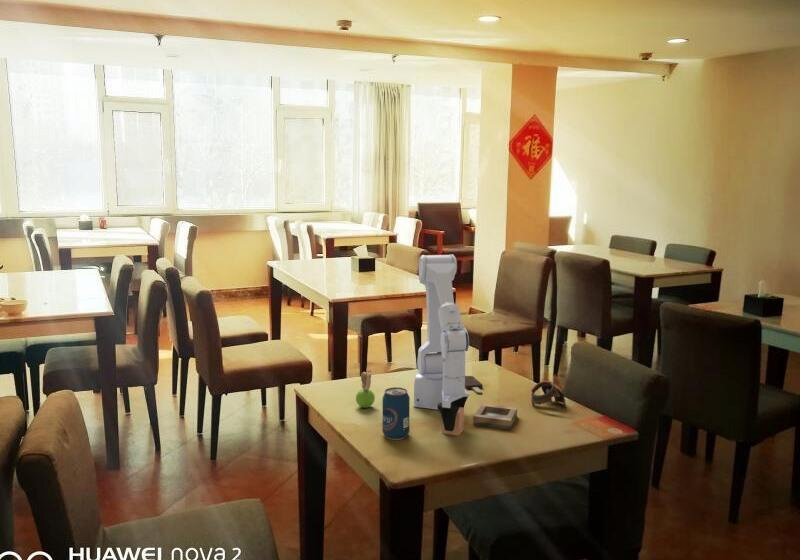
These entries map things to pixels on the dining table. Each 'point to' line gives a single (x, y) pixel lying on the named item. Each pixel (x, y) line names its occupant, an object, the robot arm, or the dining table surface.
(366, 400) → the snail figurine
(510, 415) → the walnut base
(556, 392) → the dark looped band sculpture
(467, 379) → the ice cream bar
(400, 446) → the dining table surface
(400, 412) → the soda can
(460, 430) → the terracotta block
